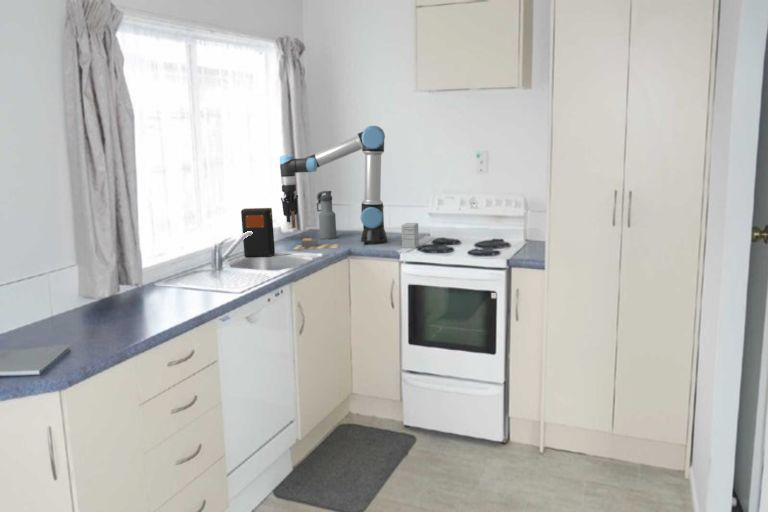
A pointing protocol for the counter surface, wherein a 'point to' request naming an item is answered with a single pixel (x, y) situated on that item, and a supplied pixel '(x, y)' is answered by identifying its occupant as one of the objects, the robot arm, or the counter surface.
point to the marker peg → (293, 219)
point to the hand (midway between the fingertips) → (291, 227)
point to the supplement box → (410, 235)
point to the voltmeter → (258, 232)
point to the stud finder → (309, 242)
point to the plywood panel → (318, 246)
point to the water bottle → (326, 216)
